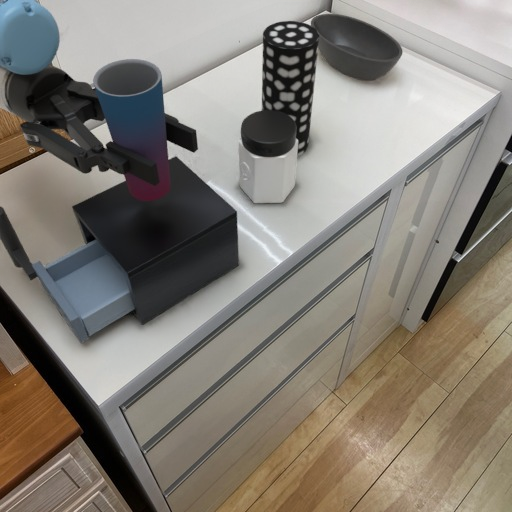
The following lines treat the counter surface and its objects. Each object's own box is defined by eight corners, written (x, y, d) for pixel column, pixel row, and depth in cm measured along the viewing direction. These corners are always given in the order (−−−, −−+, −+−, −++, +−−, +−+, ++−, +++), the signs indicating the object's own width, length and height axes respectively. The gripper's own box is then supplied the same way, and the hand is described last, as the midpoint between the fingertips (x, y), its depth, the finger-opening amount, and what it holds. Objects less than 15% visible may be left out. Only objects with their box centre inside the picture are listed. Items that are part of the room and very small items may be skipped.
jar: (231, 179, 88) (229, 118, 79) (273, 163, 91) (275, 102, 81) (260, 213, 83) (260, 152, 74) (303, 194, 86) (309, 133, 76)
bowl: (369, 99, 103) (375, 70, 98) (293, 52, 114) (295, 24, 109) (410, 77, 108) (418, 48, 103) (334, 35, 119) (337, 7, 114)
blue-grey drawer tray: (70, 349, 66) (45, 300, 58) (13, 263, 74) (-16, 210, 66) (178, 284, 72) (169, 232, 64) (114, 212, 81) (98, 158, 73)
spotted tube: (286, 123, 98) (292, 15, 82) (318, 145, 94) (330, 36, 78) (251, 141, 94) (251, 32, 79) (283, 165, 90) (289, 55, 75)
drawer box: (142, 325, 70) (127, 273, 61) (91, 260, 77) (71, 206, 68) (238, 265, 76) (237, 211, 68) (183, 211, 83) (176, 155, 75)
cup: (116, 175, 66) (87, 65, 55) (169, 163, 68) (152, 53, 56) (128, 212, 62) (99, 102, 51) (184, 198, 64) (168, 88, 52)
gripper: (93, 81, 74) (228, 140, 66) (-21, 154, 64) (122, 234, 56) (80, 29, 68) (225, 86, 60) (-48, 100, 58) (106, 180, 50)
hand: (175, 157), depth 58 cm, fingers closed on cup, 6 cm apart
